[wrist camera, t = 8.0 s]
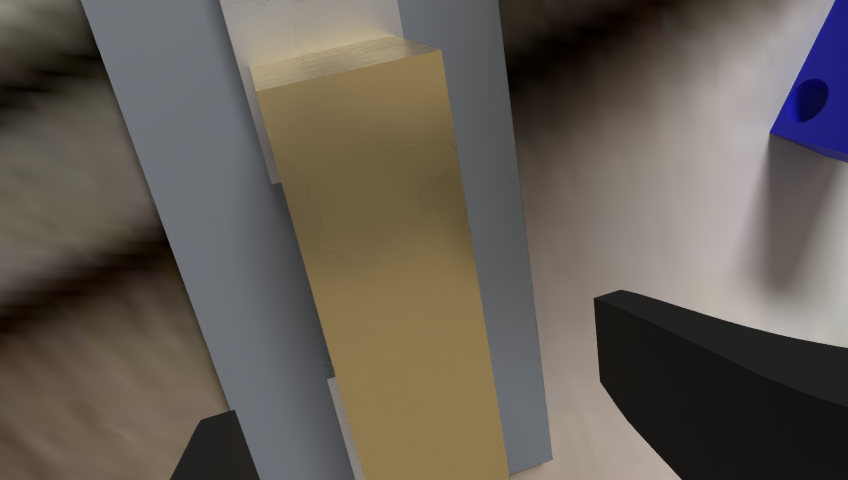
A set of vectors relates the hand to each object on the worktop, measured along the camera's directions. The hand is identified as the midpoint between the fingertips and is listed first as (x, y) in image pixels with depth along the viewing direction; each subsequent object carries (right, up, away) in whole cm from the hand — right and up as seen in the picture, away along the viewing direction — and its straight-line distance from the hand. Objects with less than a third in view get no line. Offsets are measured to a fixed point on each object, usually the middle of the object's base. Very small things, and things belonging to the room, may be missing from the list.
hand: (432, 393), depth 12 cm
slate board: (-2, +3, +7) cm, 8 cm away
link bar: (-2, +2, +5) cm, 6 cm away
